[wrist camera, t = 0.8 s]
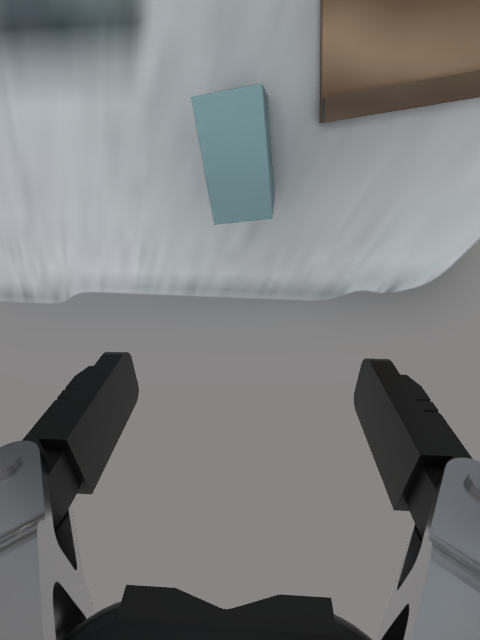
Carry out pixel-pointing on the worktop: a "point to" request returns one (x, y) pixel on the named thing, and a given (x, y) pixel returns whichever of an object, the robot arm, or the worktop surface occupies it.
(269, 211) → the cabinet block
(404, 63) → the wall rack
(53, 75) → the worktop surface
